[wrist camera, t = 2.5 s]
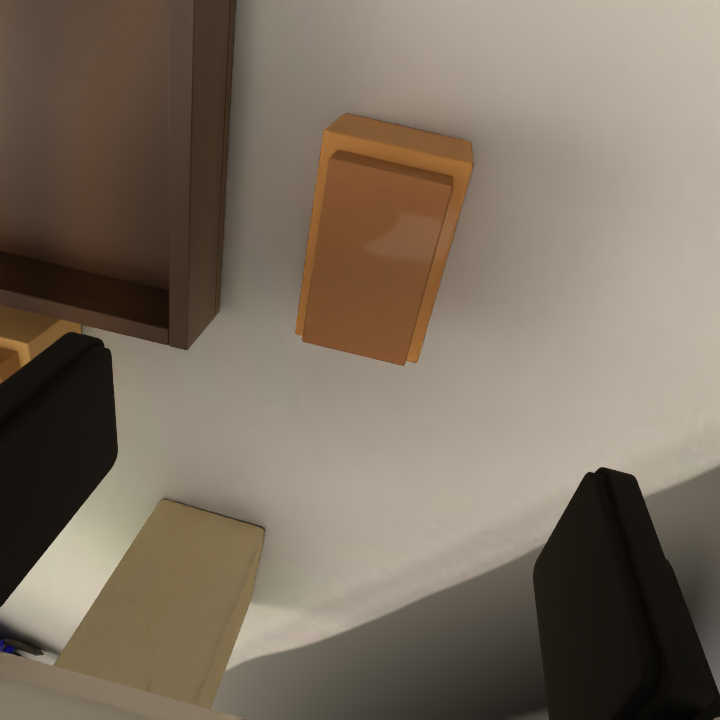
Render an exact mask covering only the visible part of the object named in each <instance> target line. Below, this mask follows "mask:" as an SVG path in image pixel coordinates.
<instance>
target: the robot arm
mask: <svg viewBox="0 0 720 720" xmlns="http://www.w3.org/2000/svg"><path fill="white" fill-rule="evenodd" d="M117 454H118V444H117V429H116V414H115V399H114V385H113V370H112V356H111V352H110V350H109V349H108V348H105V347H104V343H103V341H102V340H101V339H99V338H95V337H91V336H87V335H83V334H79V333H76V332H68V333H66V334H64V335H63V336H62V337H60V338H59V339H58V340H57V341H55V342H54V343H53V344H51V345H50V346H49V347H48V348H46V349H45V350H44V351H42V352H41V353H40V354H39V355H37V356H36V357H35V358H33V359H32V360H31V361H30V362H28V363H27V364H26V365H24V366H23V367H22V368H20V369H19V370H18V371H17V372H15V373H14V374H13V375H11V376H10V377H9V378H8V379H6V380H5V381H4V382H2V383H1V384H0V607H1V606H2V605H3V604H4V603H5V601H6V600H7V599H8V598H9V596H10V595H11V594H12V593H13V591H14V590H15V589H16V587H17V586H18V585H19V584H20V582H21V581H22V580H23V579H24V577H25V576H26V575H27V574H28V572H29V571H30V570H31V569H32V567H33V566H34V565H35V564H36V562H37V561H38V560H39V559H40V557H41V556H42V555H43V554H44V552H45V551H46V550H47V549H48V547H49V546H50V545H51V544H52V542H53V541H54V540H55V539H56V537H57V536H58V535H59V534H60V532H61V531H62V530H63V529H64V527H65V526H66V525H67V524H68V522H69V521H70V520H71V519H72V517H73V516H74V515H75V514H76V512H77V511H78V510H79V509H80V507H81V506H82V505H83V504H84V502H85V501H86V500H87V499H88V497H89V496H90V495H91V493H92V492H93V491H94V490H95V488H96V487H97V486H98V485H99V483H100V482H101V481H102V480H103V478H104V477H105V476H106V475H107V473H108V472H109V471H110V470H111V468H112V467H113V465H114V463H115V461H116V458H117ZM533 583H534V592H535V601H536V610H537V618H538V626H539V635H540V644H541V653H542V662H543V671H544V680H545V688H546V697H547V706H548V715H549V720H720V695H719V692H718V690H717V686H716V684H715V681H714V678H713V676H712V673H711V670H710V668H709V665H708V662H707V660H706V657H705V654H704V651H703V649H702V646H701V643H700V641H699V638H698V635H697V632H696V630H695V627H694V624H693V622H692V619H691V616H690V614H689V611H688V608H687V606H686V603H685V601H684V598H683V595H682V592H681V590H680V587H679V584H678V581H677V579H676V576H675V573H674V571H673V569H672V566H671V565H670V563H669V561H668V560H667V559H666V558H665V556H664V553H663V551H662V548H661V545H660V542H659V540H658V537H657V534H656V531H655V529H654V526H653V523H652V520H651V518H650V515H649V512H648V509H647V507H646V504H645V501H644V498H643V496H642V493H641V490H640V488H639V485H638V482H637V480H636V478H635V477H634V476H633V475H631V474H628V473H624V472H620V471H616V470H612V469H608V468H604V467H601V468H599V469H598V470H597V471H596V472H595V473H592V472H588V473H586V475H585V476H584V477H583V479H582V481H581V483H580V485H579V486H578V488H577V490H576V492H575V493H574V495H573V497H572V499H571V500H570V502H569V504H568V506H567V507H566V509H565V511H564V513H563V515H562V516H561V518H560V520H559V522H558V523H557V525H556V527H555V529H554V530H553V532H552V534H551V536H550V538H549V539H548V541H547V543H546V545H545V546H544V548H543V550H542V552H541V554H540V555H539V557H538V559H537V561H536V563H535V567H534V572H533ZM0 720H246V719H243V718H239V717H236V716H232V715H229V714H225V713H221V712H218V711H215V710H211V709H208V708H204V707H200V706H197V705H193V704H190V703H186V702H183V701H179V700H176V699H172V698H168V697H165V696H161V695H158V694H154V693H151V692H147V691H143V690H140V689H136V688H133V687H129V686H125V685H122V684H118V683H114V682H111V681H107V680H104V679H100V678H96V677H93V676H89V675H85V674H82V673H78V672H75V671H71V670H67V669H64V668H60V667H56V666H53V665H49V664H46V663H42V662H38V661H35V660H31V659H27V658H24V657H20V656H17V655H13V654H9V653H6V652H2V651H0Z"/></svg>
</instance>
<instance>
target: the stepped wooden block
mask: <svg viewBox="0 0 720 720" xmlns="http://www.w3.org/2000/svg"><path fill="white" fill-rule="evenodd" d="M68 332H76V333H79V334H82V332H81V324H78V323H74V322H70V321H66V320H61V319H57V318H53V317H49V316H45V315H41V314H37V313H32V312H28V311H24V310H20V309H16V308H12V307H8V306H4V305H0V384H1V383H2V382H4V381H5V380H6V379H8V378H9V377H10V376H11V375H13V374H14V373H15V372H17V371H18V370H19V369H20V368H22V367H23V366H24V365H26V364H27V363H28V362H30V361H31V360H32V359H33V358H35V357H36V356H37V355H39V354H40V353H41V352H42V351H44V350H45V349H46V348H48V347H49V346H50V345H51V344H53V343H54V342H55V341H57V340H58V339H59V338H60V337H62V336H63V335H64V334H66V333H68Z"/></svg>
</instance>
